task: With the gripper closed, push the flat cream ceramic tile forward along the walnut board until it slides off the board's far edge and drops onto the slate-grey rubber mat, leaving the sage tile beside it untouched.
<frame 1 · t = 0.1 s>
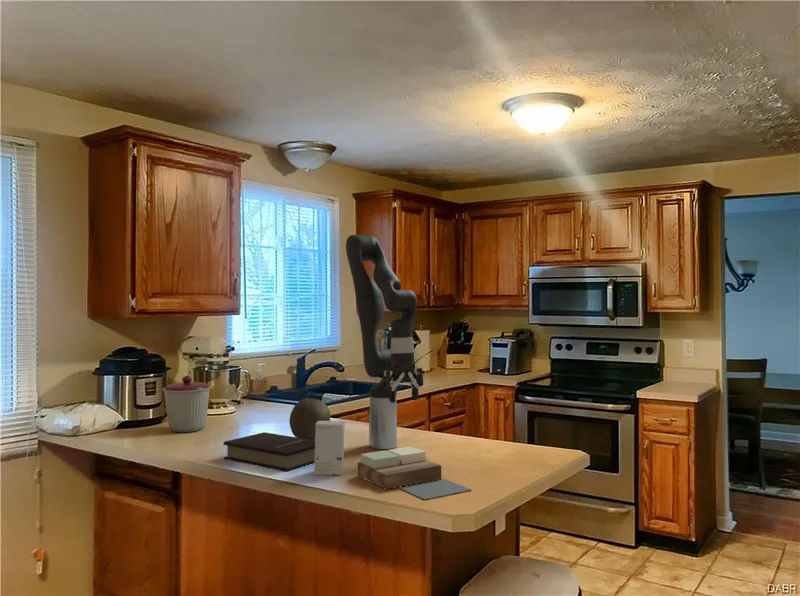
hand: (403, 401, 216), 17 cm above the counter, tool pointing down, fingers open, 8 cm apart
skincare box: (329, 473, 194), on the counter
cream tile: (406, 459, 193), point 4 cm above the counter, touching walnut board
book: (277, 460, 212), on the counter
sage tile: (380, 463, 188), point 4 cm above the counter, touching walnut board
walnut board: (399, 477, 188), on the counter
grey mat: (435, 489, 177), on the counter
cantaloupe: (309, 441, 238), on the counter
canister: (187, 430, 258), on the counter
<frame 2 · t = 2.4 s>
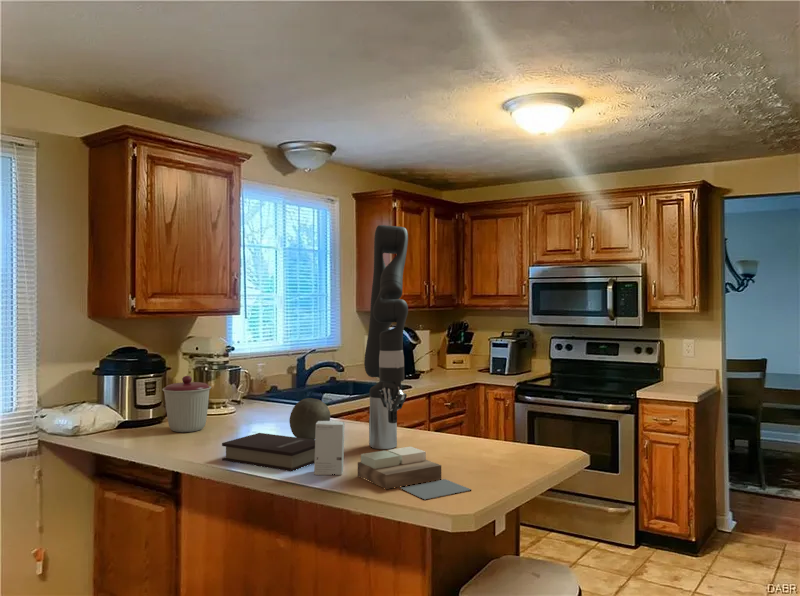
hand: (392, 422, 200), 13 cm above the counter, tool pointing down, fingers closed
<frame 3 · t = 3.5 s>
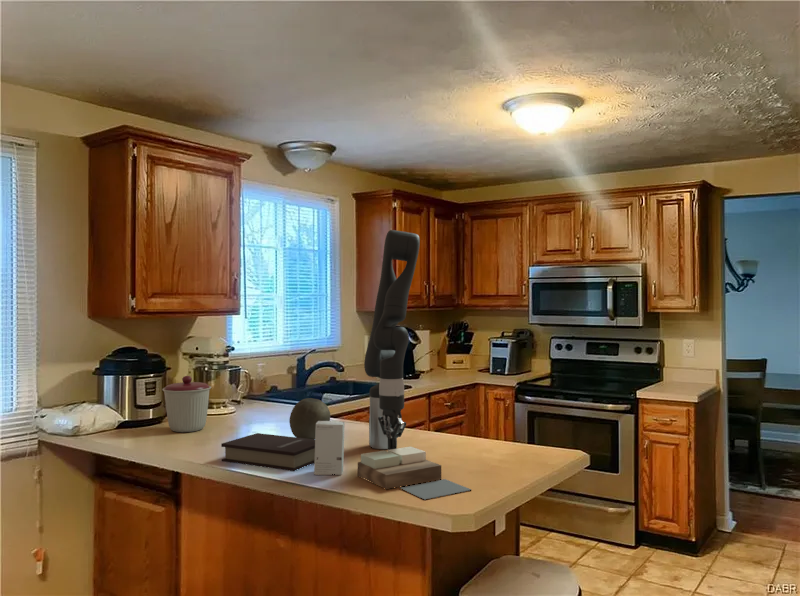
hand: (392, 450, 200), 5 cm above the counter, tool pointing down, fingers closed
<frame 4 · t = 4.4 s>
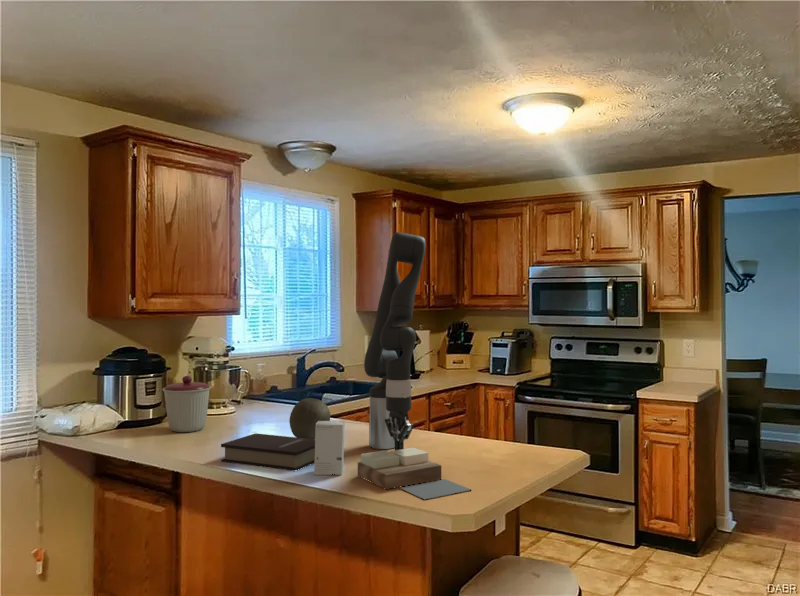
hand: (399, 452, 197), 5 cm above the counter, tool pointing down, fingers closed
cream tile: (409, 460, 192), point 4 cm above the counter, touching gripper, walnut board
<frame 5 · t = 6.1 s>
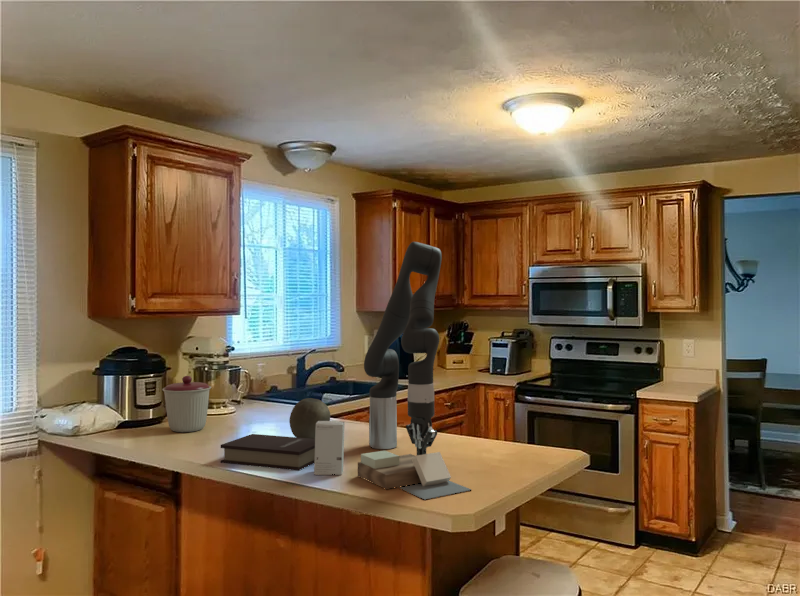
hand: (421, 460, 186), 5 cm above the counter, tool pointing down, fingers closed
cream tile: (429, 471, 183), point 3 cm above the counter, tilted 47°, touching grey mat, gripper
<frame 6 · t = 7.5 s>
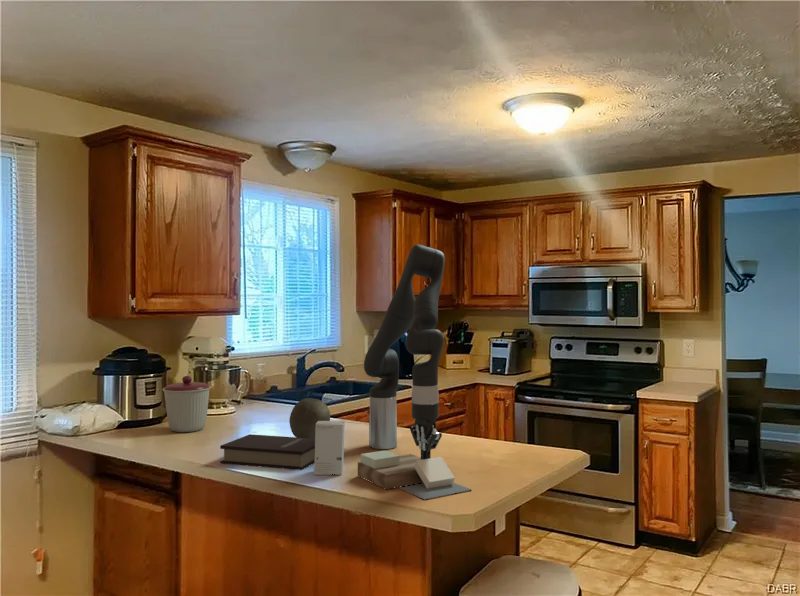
hand: (425, 463, 185), 5 cm above the counter, tool pointing down, fingers closed
cream tile: (433, 475, 181), point 2 cm above the counter, tilted 32°, touching grey mat, gripper
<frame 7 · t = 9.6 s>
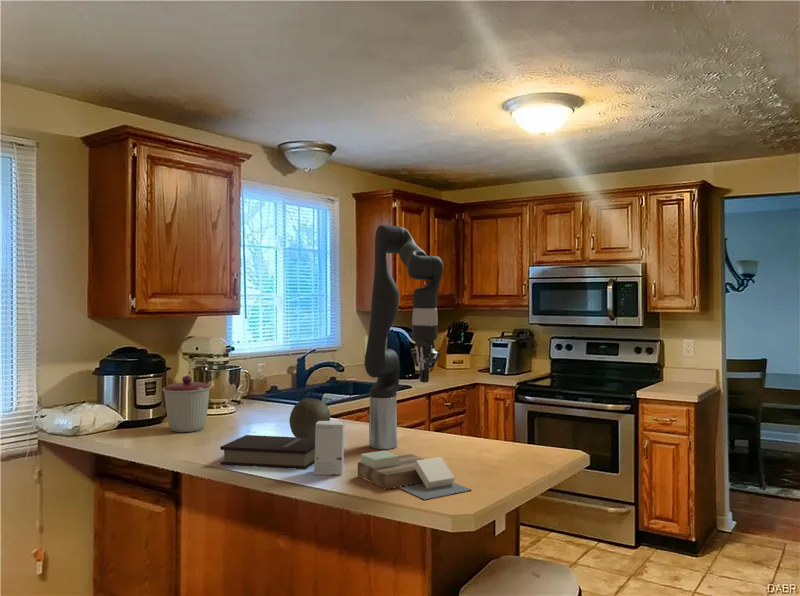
hand: (424, 382, 196), 26 cm above the counter, tool pointing down, fingers closed
cream tile: (433, 475, 181), point 2 cm above the counter, tilted 32°, touching grey mat, walnut board
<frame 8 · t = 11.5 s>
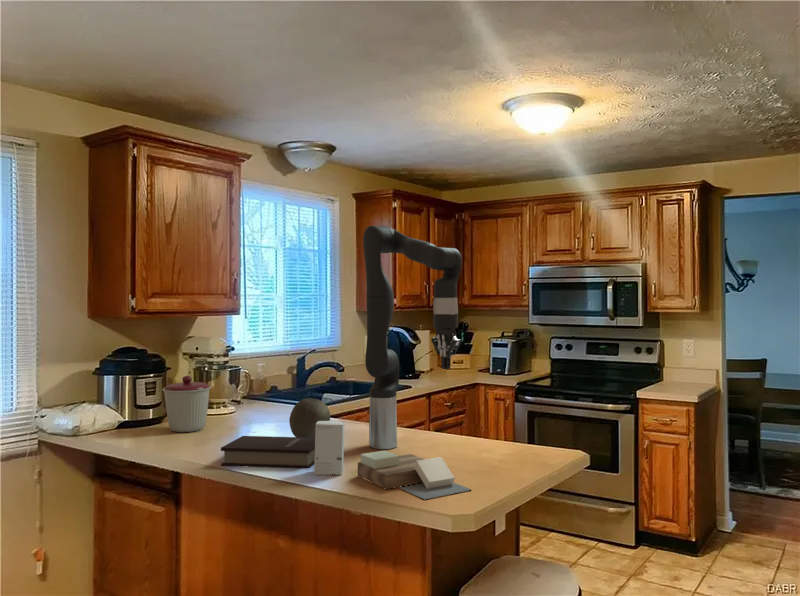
hand: (446, 368, 204), 29 cm above the counter, tool pointing down, fingers closed
at the end: cream tile point 2.4 cm above the counter; cream tile inside the target area on the grey mat (4.7 cm from its centre), point 2.4 cm above the grey mat's base; sage tile moved 0.0 cm from its start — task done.
